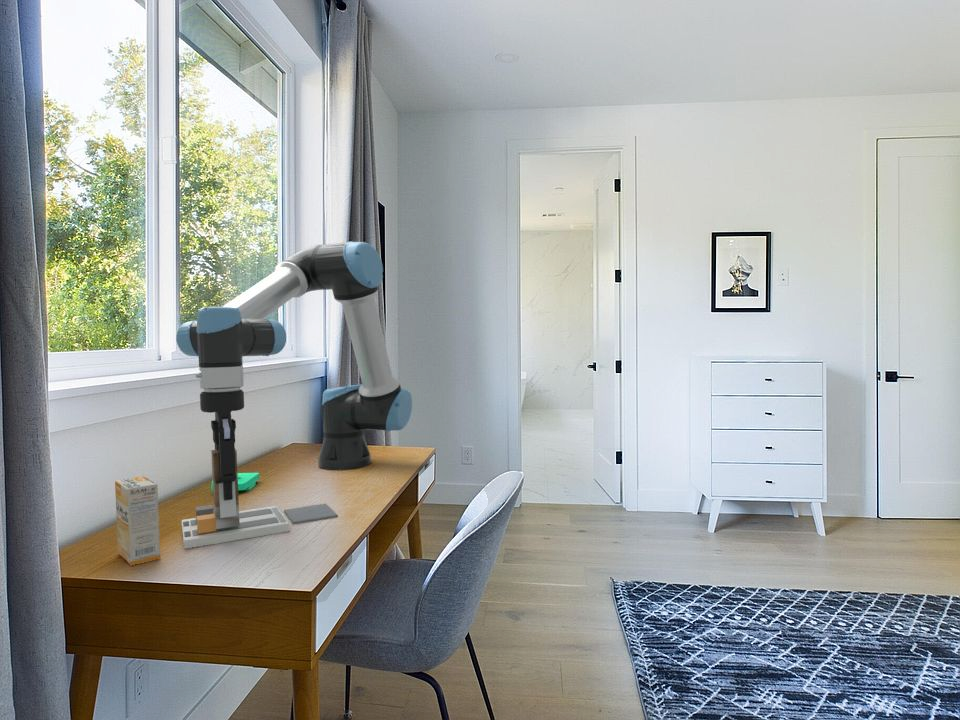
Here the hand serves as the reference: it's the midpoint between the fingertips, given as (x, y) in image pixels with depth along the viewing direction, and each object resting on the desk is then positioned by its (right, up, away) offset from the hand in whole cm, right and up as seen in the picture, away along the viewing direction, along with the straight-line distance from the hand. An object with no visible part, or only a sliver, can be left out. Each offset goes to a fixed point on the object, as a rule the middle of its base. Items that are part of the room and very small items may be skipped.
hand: (226, 512), depth 110 cm
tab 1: (-6, -3, +5) cm, 8 cm away
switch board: (0, -4, +4) cm, 6 cm away
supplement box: (-11, -5, -10) cm, 16 cm away
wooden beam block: (0, -2, 0) cm, 2 cm away
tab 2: (-3, -3, -2) cm, 4 cm away
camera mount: (-13, -4, +37) cm, 39 cm away
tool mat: (+12, -4, +13) cm, 18 cm away
